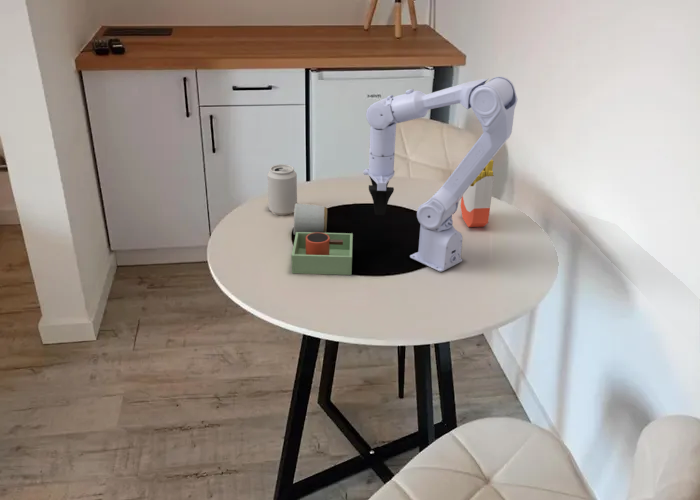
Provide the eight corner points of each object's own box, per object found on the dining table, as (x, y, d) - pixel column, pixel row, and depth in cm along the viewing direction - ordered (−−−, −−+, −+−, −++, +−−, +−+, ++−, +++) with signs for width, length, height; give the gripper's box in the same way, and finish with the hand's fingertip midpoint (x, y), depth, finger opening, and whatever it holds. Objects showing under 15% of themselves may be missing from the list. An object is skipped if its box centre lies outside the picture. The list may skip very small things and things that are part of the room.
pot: (304, 264, 153) (304, 242, 150) (306, 253, 157) (306, 231, 155) (342, 265, 152) (342, 243, 150) (342, 254, 157) (343, 232, 155)
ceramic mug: (327, 240, 165) (327, 211, 161) (293, 240, 164) (292, 210, 161) (326, 222, 174) (326, 194, 171) (294, 222, 174) (294, 194, 170)
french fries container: (469, 231, 171) (477, 164, 162) (458, 213, 180) (465, 149, 172) (487, 231, 171) (496, 163, 163) (475, 213, 181) (482, 148, 172)
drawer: (352, 250, 160) (352, 233, 158) (351, 275, 150) (352, 257, 148) (296, 248, 160) (296, 231, 158) (291, 273, 150) (291, 255, 148)
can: (281, 202, 184) (280, 160, 179) (302, 209, 180) (302, 167, 175) (262, 211, 179) (261, 168, 173) (284, 218, 175) (283, 175, 169)
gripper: (364, 141, 160) (362, 195, 166) (364, 163, 147) (362, 220, 153) (394, 142, 160) (391, 195, 166) (397, 164, 147) (393, 221, 153)
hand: (379, 207), depth 160 cm, fingers open, 7 cm apart
